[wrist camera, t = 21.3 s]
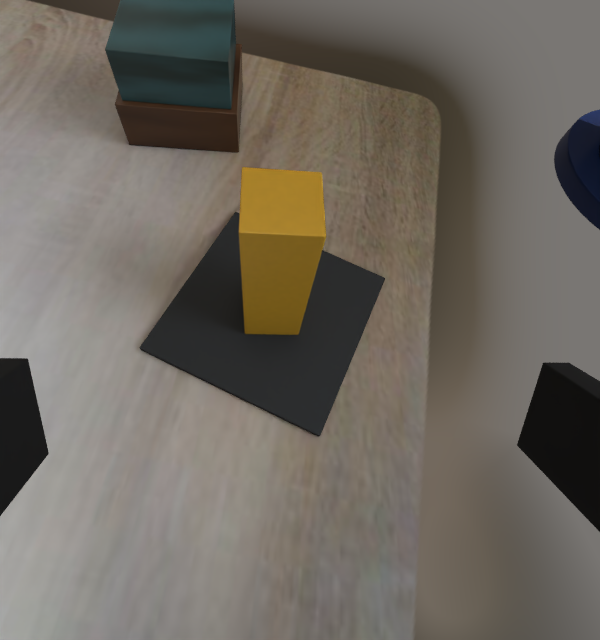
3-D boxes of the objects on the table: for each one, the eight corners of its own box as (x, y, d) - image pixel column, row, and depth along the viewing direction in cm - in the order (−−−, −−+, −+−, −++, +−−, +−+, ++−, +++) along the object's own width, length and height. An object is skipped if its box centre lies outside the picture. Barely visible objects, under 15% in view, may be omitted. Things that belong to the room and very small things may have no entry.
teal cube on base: (238, 152, 36) (234, 66, 28) (129, 144, 34) (96, 52, 27) (242, 84, 40) (240, -6, 32) (144, 75, 39) (119, -20, 31)
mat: (383, 280, 31) (385, 277, 31) (319, 436, 25) (320, 436, 25) (235, 214, 32) (235, 211, 32) (140, 349, 27) (139, 347, 26)
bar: (298, 335, 28) (326, 236, 17) (244, 334, 28) (238, 232, 17) (297, 288, 30) (322, 171, 19) (246, 287, 29) (241, 166, 18)
